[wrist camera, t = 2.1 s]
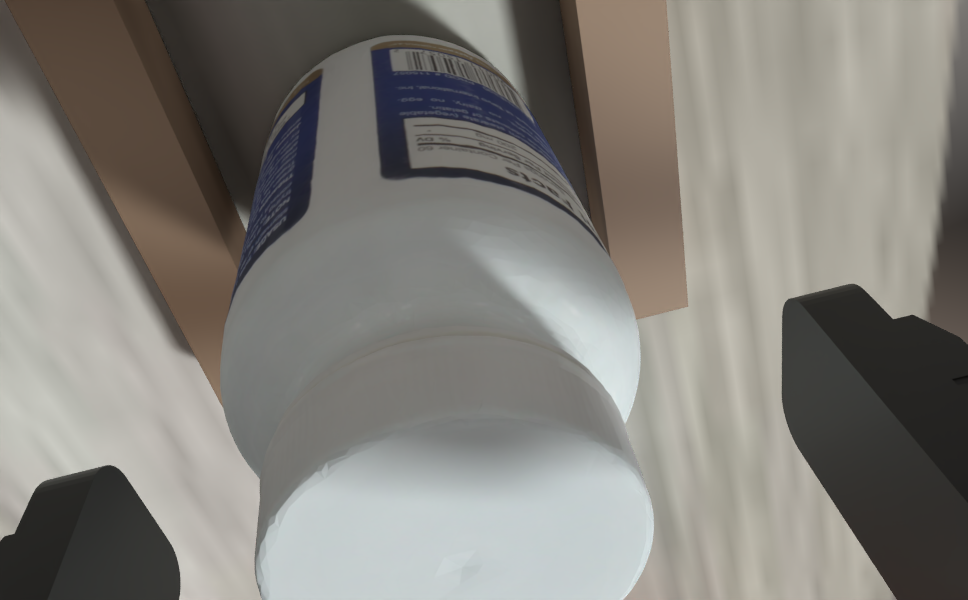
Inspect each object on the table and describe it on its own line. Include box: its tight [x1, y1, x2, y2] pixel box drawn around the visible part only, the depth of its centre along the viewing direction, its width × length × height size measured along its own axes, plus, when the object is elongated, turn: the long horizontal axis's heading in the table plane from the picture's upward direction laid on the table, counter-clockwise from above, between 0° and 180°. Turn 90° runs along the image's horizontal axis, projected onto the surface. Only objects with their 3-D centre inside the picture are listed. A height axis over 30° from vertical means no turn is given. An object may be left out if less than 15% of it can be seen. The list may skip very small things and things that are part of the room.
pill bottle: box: [220, 35, 654, 600], centre depth 12 cm, size 5×5×10 cm
